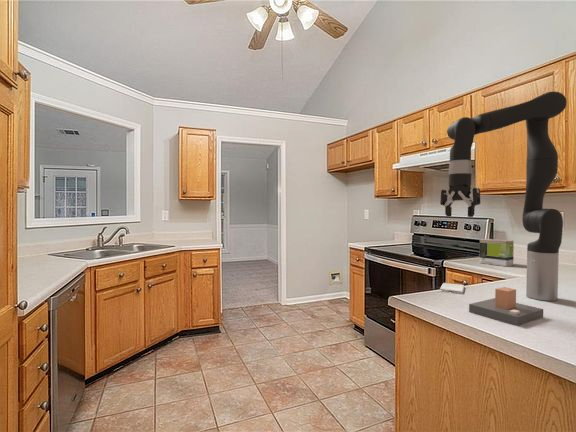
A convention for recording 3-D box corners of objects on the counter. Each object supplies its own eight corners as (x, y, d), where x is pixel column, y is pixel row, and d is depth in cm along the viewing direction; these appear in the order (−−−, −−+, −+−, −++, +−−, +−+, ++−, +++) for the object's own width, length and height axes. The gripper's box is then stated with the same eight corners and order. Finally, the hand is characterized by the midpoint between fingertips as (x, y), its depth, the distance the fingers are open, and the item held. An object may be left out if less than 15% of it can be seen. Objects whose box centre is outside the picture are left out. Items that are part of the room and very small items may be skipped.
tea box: (513, 265, 192) (514, 240, 191) (506, 266, 186) (506, 241, 186) (486, 261, 204) (487, 238, 204) (478, 263, 198) (479, 239, 198)
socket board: (495, 305, 111) (495, 295, 111) (543, 317, 99) (543, 306, 99) (469, 311, 104) (469, 301, 104) (517, 325, 92) (517, 314, 92)
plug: (503, 311, 104) (504, 287, 104) (515, 314, 101) (516, 289, 101) (494, 314, 102) (495, 288, 102) (506, 317, 99) (507, 291, 98)
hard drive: (443, 282, 140) (439, 288, 130) (464, 285, 136) (462, 291, 126) (442, 286, 141) (439, 292, 130) (464, 289, 136) (462, 295, 126)
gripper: (485, 172, 117) (484, 217, 117) (448, 175, 129) (448, 216, 129) (472, 170, 113) (471, 217, 113) (436, 174, 125) (435, 216, 126)
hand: (459, 216), depth 121 cm, fingers open, 8 cm apart
